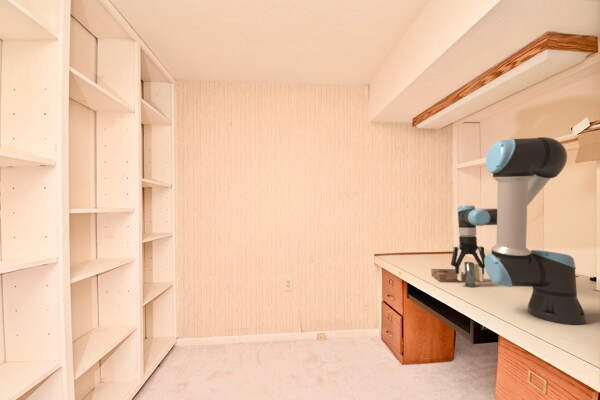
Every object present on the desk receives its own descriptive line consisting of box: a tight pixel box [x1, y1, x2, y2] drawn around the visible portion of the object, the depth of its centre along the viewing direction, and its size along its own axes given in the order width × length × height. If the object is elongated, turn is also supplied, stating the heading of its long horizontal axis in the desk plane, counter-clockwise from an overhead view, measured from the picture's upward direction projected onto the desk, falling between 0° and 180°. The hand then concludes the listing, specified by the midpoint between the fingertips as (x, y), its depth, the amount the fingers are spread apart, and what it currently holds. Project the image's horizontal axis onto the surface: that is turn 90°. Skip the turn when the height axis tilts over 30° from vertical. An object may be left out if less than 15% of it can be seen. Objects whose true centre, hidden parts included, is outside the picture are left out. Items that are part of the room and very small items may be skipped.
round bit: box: [464, 261, 476, 289], centre depth 134 cm, size 4×4×12 cm
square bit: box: [474, 263, 485, 283], centre depth 143 cm, size 4×4×9 cm
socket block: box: [430, 268, 466, 284], centre depth 149 cm, size 14×14×4 cm
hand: (469, 280), depth 134 cm, fingers open, 9 cm apart
